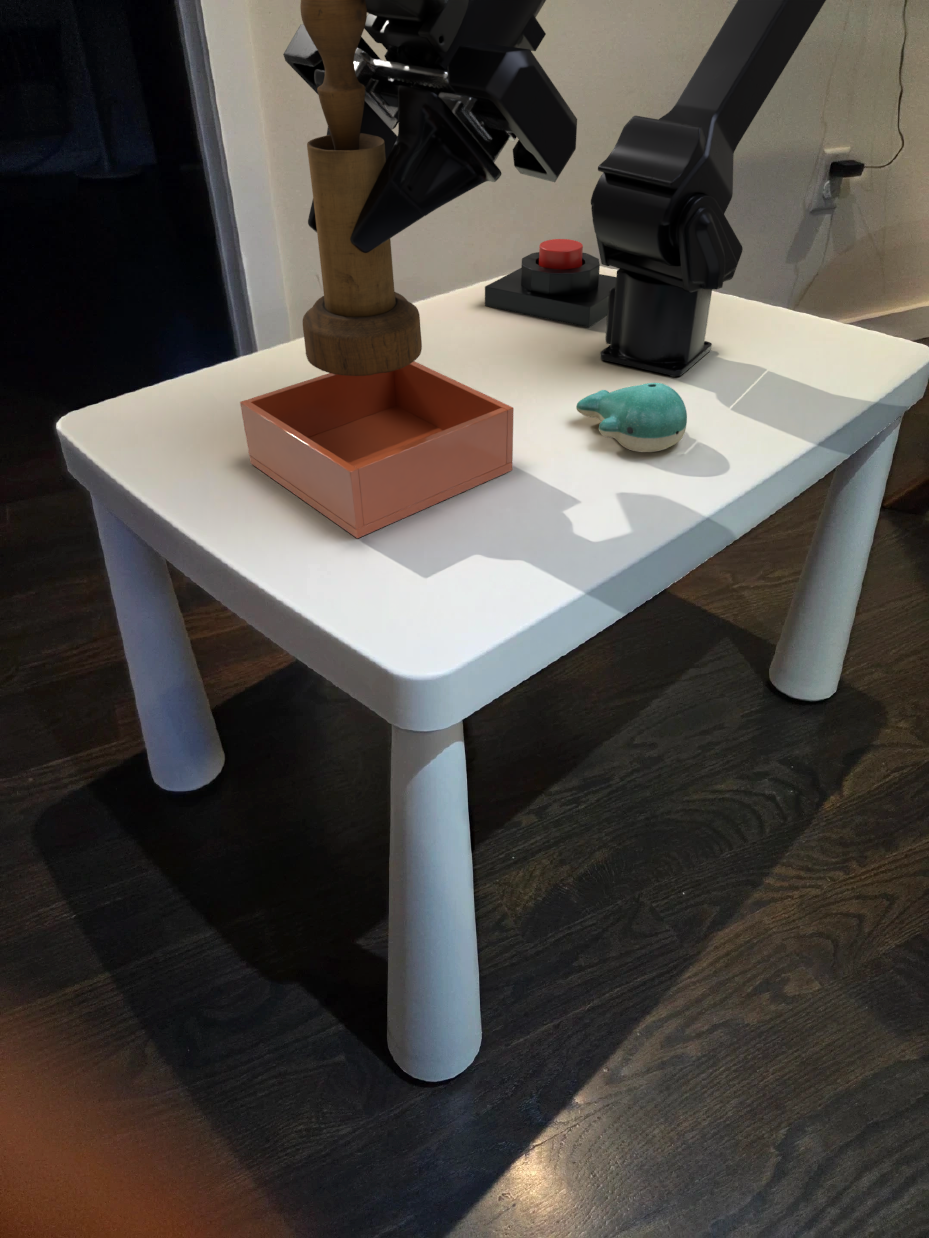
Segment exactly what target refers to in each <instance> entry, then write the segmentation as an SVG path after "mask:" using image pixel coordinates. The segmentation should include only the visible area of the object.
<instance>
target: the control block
mask: <svg viewBox="0 0 929 1238" xmlns="http://www.w3.org/2000/svg"><path fill="white" fill-rule="evenodd" d="M520 265H521V267H519V268H517V269H516V270H514V271H512V272H510V273H508V274H506V275H504V276H502V277H501V278H499V279H496V280H494V281H493V282H491V283H489V284H487V285H485V286H484V307H487V308H492V309H497V310H503V311H507V312H510V313H516V314H521V315H526V316H530V317H535V318H539V319H544V320H549V321H554V322H559V323H565V324H568V325H572V326H576V327H577V326H578V327H583V328H587V329H589V328H591V327H592V326H594V325H596V324H597V323H598V322H600V321H601V320H603V319H604V318H607V312H608V300H609V291H610V290H611V289H612V288H613V287H615V286H616V276H613V275H607V274H603V273H600V271H601V269H600V268H601V267H600V266H601V262H600V258H598V257H595V256H594V255H591V254H589V253H587V252H583V253H582V266H580V267H577V268H572V269H551V268H545V267H541V266H539V251H537V252H531V253H529V254H528V255H525V256H523V257H522V258H521V264H520Z"/></svg>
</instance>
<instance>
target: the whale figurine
mask: <svg viewBox="0 0 929 1238" xmlns="http://www.w3.org/2000/svg"><path fill="white" fill-rule="evenodd" d="M575 409H576V411H577V412H578V413H579V414H581V415H583V416H585V417H586V418H587V417H588V418H596V419H597V420H599V421H600V422H599V424H598V431H599V433H600V434H601V436H603V437H605V438H614V440H616V441H617V442H618V443H619V444H620V445H621V446H622V447H623V448H625V449H627V450H629V451H633V452H638V453H653V452H659V451H663V450H666V449H669V448H671V447H673V446H675V445H676V444H678V443H679V442H680V441H681V440H682V439H683V437H684V435H685V433H686V430H687V423H688V412H687V408H686V405H685V402H684V399H682V397H681V395H680V394H679V393H678V392H677V390H675V389H674V388H672V387H671V386H670V385H667V384H665V383H661V382H647V383H643V384H638V385H633V386H632V385H631V386H627V387H622V388H618V389H615V390H613V391H608V390H606V389H601V390H599V391H597V392H595V393H591V394H589V395H587V396H585V397H583V398H582V399H580V400H579V401H578V402H577V404H576V407H575Z"/></svg>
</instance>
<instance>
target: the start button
mask: <svg viewBox="0 0 929 1238" xmlns="http://www.w3.org/2000/svg"><path fill="white" fill-rule="evenodd" d="M583 250H584V245H583V243H582V242H580V241H577V240H574V239H570V238H569V239H568V238H554V239H548V240H544V241H542V242H540V244H539V249H538V252H539V266H541V267H545V268H551V269H572V268H577V267H580V266H582V253H584V251H583Z"/></svg>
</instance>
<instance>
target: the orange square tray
mask: <svg viewBox="0 0 929 1238" xmlns="http://www.w3.org/2000/svg"><path fill="white" fill-rule="evenodd" d="M239 407H240V411H241V417H242V422H243V427H244V435H245V440H246V445H247V451H248V456H249V463H250V465H252V466H254V467H255V468H256V469H258V470H260V471H261V472H262V473H264V474H265V475H267V477H269V478H271V479H272V480H274V481H275V482H276V483H278V484H279V485H281V486H282V487H283V488H285V489H286V490H288V492H290V493H292V494H294V495H295V496H296V497H298V498H300V499H301V500H302V501H303V502H304V503H306V504H308V505H309V506H310V507H312V508H313V509H314V510H316V511H317V512H319V513H320V514H321V515H323V516H324V517H326V518H328V519H329V520H330V521H331V522H333V523H334V524H336V525H337V526H339V527H340V528H342V529H343V530H344V531H346V532H347V533H349V534H350V535H352V536H353V537H354V538H356V539H359V538H362V537H364V536H366V535H368V534H371V533H373V532H375V531H378V530H380V529H382V528H384V527H387V526H389V525H391V524H393V523H395V522H396V523H397V522H398V521H400V520H402V519H405V518H407V517H410V516H412V515H415V514H416V513H418V512H421V511H423V510H425V509H428V508H430V507H432V506H435V505H436V504H439V503H442V502H443V501H447V500H448V499H450V498H452V497H455V496H458V495H459V494H461V493H463V492H466V491H468V490H471V489H473V488H475V487H478V486H480V485H482V484H484V483H487V482H488V481H491V480H493V479H496V478H498V477H500V476H503V475H504V474H507V473H509V472H511V471H513V464H514V463H513V457H514V414H515V413H514V410H515V409H514V407H513V406H511V405H509V404H506V403H505V402H503V401H501V400H498V399H497V398H494V397H492V396H489V395H487V394H486V393H483V392H481V391H478V390H477V389H476V388H475V389H474V388H472V387H470V386H468V385H466V384H464V383H461V382H460V381H457V380H455V379H453V378H451V377H449V376H447V375H445V374H443V373H440V372H438V371H436V370H434V369H432V368H430V367H428V366H426V365H424V364H422V363H419V362H417V361H416V360H415V361H413V362H412V363H411V364H409V365H407V366H405V367H403V368H401V369H398V370H395V371H392V372H387V373H378V374H373V375H367V376H346V375H338V374H332V373H328V372H327V373H325V374H322V375H319V376H316V377H313V378H310V379H306V380H304V381H301V382H298V383H297V382H296V383H293V384H291V385H288V386H285V387H281V388H279V389H275V390H272V391H270V392H266V393H263V394H259V395H257V396H253V397H251V398H248V399H244V400H242V401H239Z"/></svg>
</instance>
